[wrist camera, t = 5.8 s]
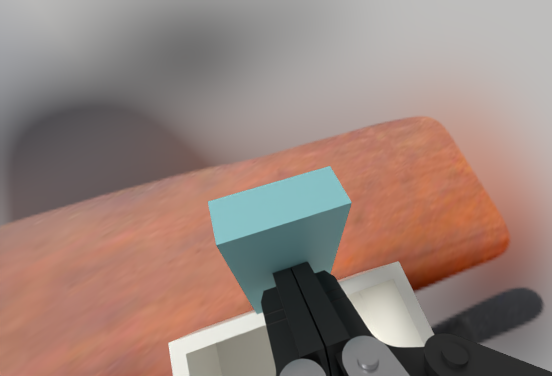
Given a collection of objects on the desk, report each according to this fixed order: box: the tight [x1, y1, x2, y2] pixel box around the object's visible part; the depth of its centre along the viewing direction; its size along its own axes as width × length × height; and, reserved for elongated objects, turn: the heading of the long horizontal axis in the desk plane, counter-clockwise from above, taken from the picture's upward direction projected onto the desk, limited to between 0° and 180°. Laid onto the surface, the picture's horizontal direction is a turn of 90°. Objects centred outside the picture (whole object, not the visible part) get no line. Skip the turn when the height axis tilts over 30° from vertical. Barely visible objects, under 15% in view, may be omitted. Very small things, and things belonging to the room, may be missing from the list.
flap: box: [208, 166, 352, 314], centre depth 11 cm, size 4×2×9 cm, turn 108°
